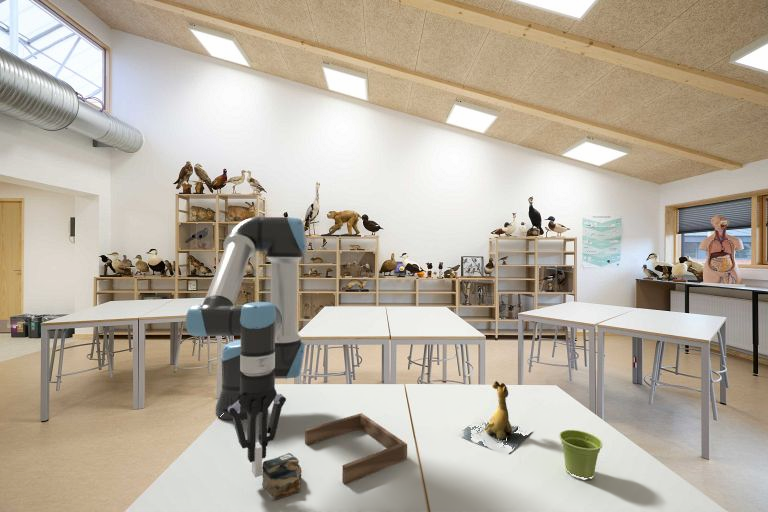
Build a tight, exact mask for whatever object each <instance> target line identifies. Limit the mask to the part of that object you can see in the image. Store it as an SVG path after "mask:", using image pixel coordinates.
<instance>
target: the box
mask: <svg viewBox="0 0 768 512" xmlns="http://www.w3.org/2000/svg"><path fill="white" fill-rule="evenodd" d="M359 429H360V430H362V431H363V432H364V433H366V434H367V435H369V437H371V438H372V439H374V440H375V441H376V442H378V443H379V444H380V445H381V446H383V447H384V448H385V449H382V450H380V451H377V452H375V453H374V452H373V453H371V454H369V455H366V456H364V457H363V456H362V457H361V458H359V459H355V460H352V461H350V462H347V463H345V464H343V465H342V476H341V477H342V482H341V483H342V484H344V485H348V484H350V483H352V482H355V481H357V480H359V479H362V478H365V477H367V476H370V475H372V474H375V473H377V472H380V471H382V470H384V469H387V468H390V467H391V466H392V467H393V466H394V465H397V464H399V463H401V462H404V461H407V460H408V443H407V442H405V441H404V440H402V439H400V438H399V437H397V436H396V435H395V434H393V433H392V432H390V431H389V430H387V429H386V428H384V427H383V426H381V425H380V424H378V423H377V422H375V420H373V419H371V418H370V417H368V416H367V415H365V414H363V412H362V413H361V412H360V413H357V414H354V415H350V416H346V417H343V418H340V419H336V420H333V421H329V422H326V423H323V424H318V425H315V426H312V427H309V428H305V429H304V431H305V432H304V433H305V434H304V442H305V445H306V446H309V445H313V444H315V443H319V442H322V441H324V440H328V439H331V438H334V437H337V436H340V435H344V434H347V433H350V432H354V431H357V430H359Z"/></svg>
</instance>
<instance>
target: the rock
mask: <svg viewBox="0 0 768 512" xmlns="http://www.w3.org/2000/svg"><path fill="white" fill-rule="evenodd" d="M299 463H300V461H299V459H298V458H297V457H296V456H295V455H293V454H292V453H289V452H287V453H286V454H283V455H280V456H278V457H275V458H271V459H268V460H263V461H262V475H261V476H262V483H261V485H262V486H261V487H262V488H263V489H264V490H265V492H267V493H268V495H272V496H273V498H272V500H273V501H275V500H278V499H281V498H285V497H289V496H291V495H294V494H297V493H299V492H301V481H302V467H301V466H300V464H299Z"/></svg>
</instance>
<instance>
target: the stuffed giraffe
mask: <svg viewBox="0 0 768 512" xmlns="http://www.w3.org/2000/svg"><path fill="white" fill-rule="evenodd" d="M491 386H492V388H493V389H494V390H497V392H496V395H497V401H498V406H497V408H496V410H495V412H494V413H493V414H492V416H491V418H490V419H489V422H488V423H489V424H488V423H487V424H486V423H485V428H484V430H485V431H486V434H487V435H488V436H490V435H491V437H493V436H495V437H494V438H496V439H497V440H498V439H499V441H501V440H502V441H501V442H503V440H505V442H503V444H504V445H509V446H511V447H512V449H513V448H514V447H515V449H516V448H517V447H518V446H519V445H520V444H521V442H523V441H524V440H525V439H526V438H527V437H529V435H525V436H523V435H522V434H521V433H520V434H519V433H514V432H516V431H517V430H518V427H519V426H518V425H514V426H515V427H514V426H511V425H512V424H511V423H510V419H509V410H508V408H507V407H508V406H507V398H508V396H509V391H508V387H507V386H506V384H505V383H504V382H501V383H499V382H498V381H497V380H495V381H494V382H493V383H492V384H491ZM481 424H482V425H483V424H484V423H481ZM469 426H470V425H468V426H467V427H465V428H464V429H462V432H463V436H462V437H461V439H464V440H468V441H470V442H472V441H471V438H472V437H471V434H472V433H471V430H473V429H474V428H475V429H476V428H478V427H479V426H478V427H476V426H474V427H472V429H471V427H469ZM480 428H482V426H481V427H480ZM480 428H478V429H479V430H478V431H480ZM475 429H474V430H475ZM476 431H477V430H476ZM478 431H477V432H478ZM472 435H473V434H472ZM507 436H508V437H507ZM506 437H507V441H506ZM478 443H479V444H478V445H481V446H483V447H485V446H484V444H483V442H482V441H479V442H478ZM506 443H507V444H506ZM504 445H503V446H504ZM485 448H486V447H485Z"/></svg>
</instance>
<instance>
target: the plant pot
mask: <svg viewBox="0 0 768 512" xmlns="http://www.w3.org/2000/svg"><path fill="white" fill-rule="evenodd" d="M558 436H559V439H560V441H561V445H562V449H563V455H564V456H563V457H564V464H565V465H564V466H565V470H566V469H567V471H569V472H570V473H571V474H574V475H576V476H579V477H584V478H589V477H592V476H594V475H595V470H596V466H597V462H598V458H599V457H598V455H599V453H600V451H601V449H602V448H603V441H601V439H600V438H598V437H597V436H595V435H593V434H591V433H589V432H586V431H583V430H579V429H577V430H575V429H565V430H562V431H561V432H560V433H559V435H558ZM567 471H566V472H567Z"/></svg>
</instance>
